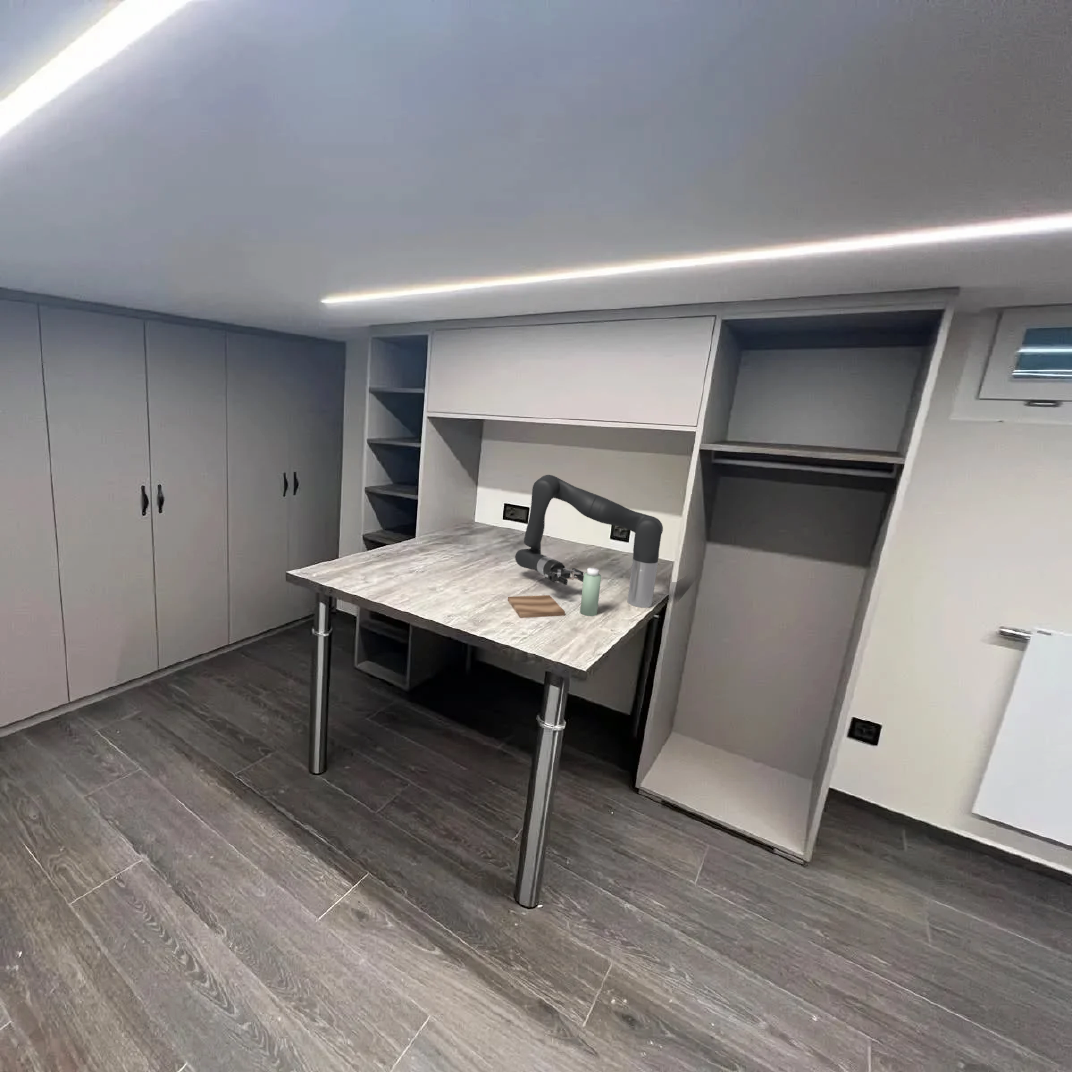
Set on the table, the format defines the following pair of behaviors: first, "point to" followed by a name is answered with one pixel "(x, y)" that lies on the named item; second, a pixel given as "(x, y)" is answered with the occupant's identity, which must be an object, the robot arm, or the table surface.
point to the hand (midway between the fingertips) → (576, 581)
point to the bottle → (590, 592)
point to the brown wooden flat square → (535, 606)
